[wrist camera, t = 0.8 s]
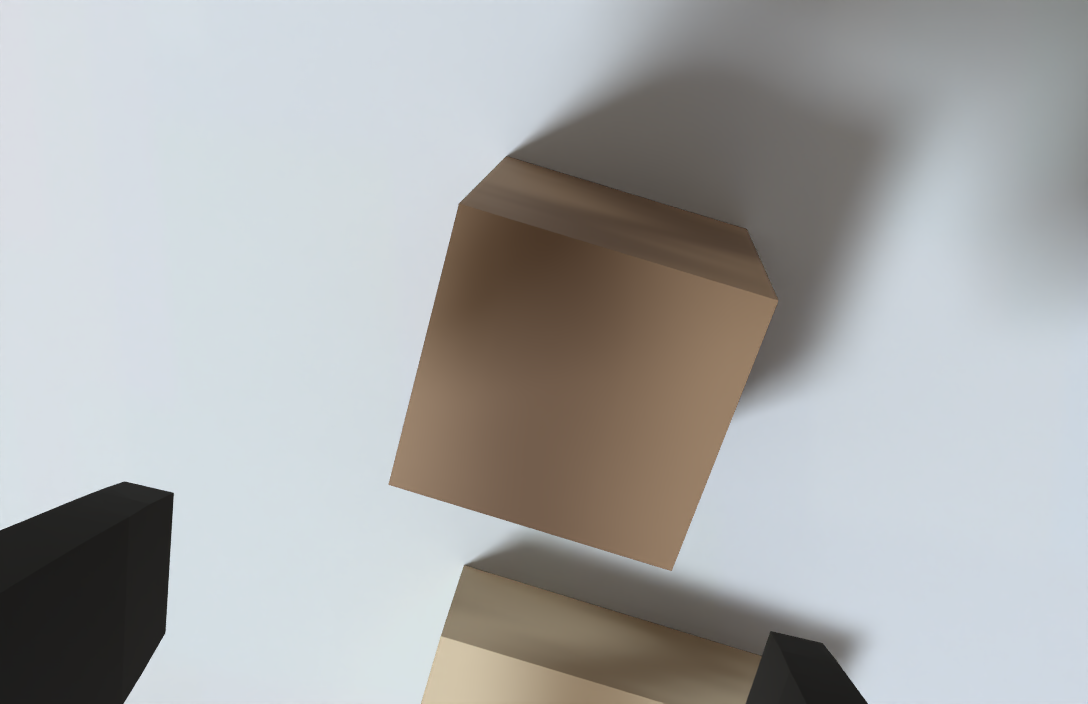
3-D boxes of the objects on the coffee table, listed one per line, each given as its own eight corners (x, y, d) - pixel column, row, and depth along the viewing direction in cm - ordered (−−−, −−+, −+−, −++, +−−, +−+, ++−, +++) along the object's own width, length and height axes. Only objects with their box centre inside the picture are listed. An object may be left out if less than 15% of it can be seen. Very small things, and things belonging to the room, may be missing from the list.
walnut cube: (746, 228, 19) (778, 301, 14) (666, 443, 20) (671, 571, 16) (507, 155, 19) (458, 203, 14) (448, 376, 20) (388, 484, 16)
